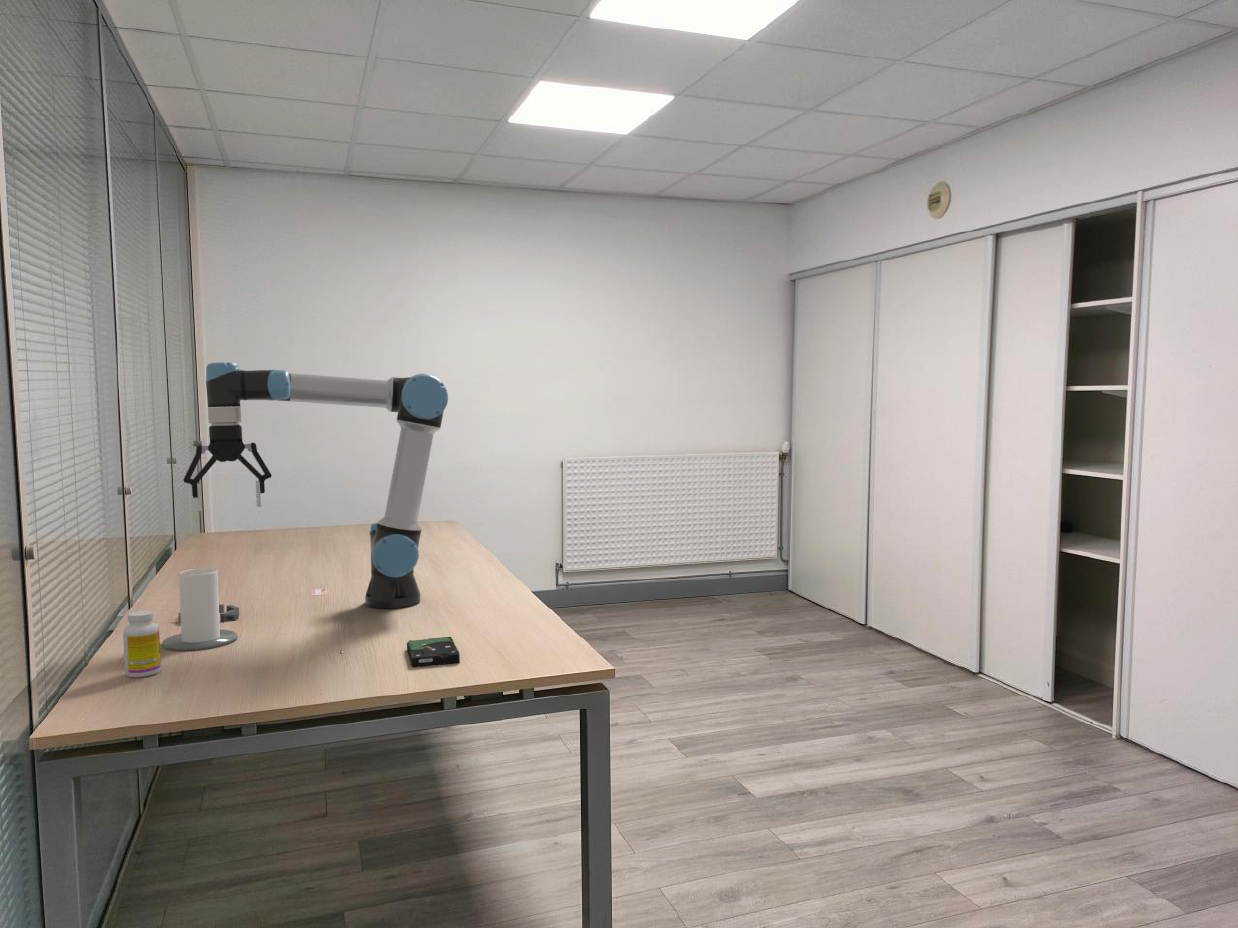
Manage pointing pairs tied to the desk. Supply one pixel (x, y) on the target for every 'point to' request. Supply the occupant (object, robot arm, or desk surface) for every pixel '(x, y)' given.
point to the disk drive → (432, 652)
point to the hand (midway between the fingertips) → (230, 508)
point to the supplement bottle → (141, 645)
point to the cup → (199, 605)
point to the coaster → (179, 645)
